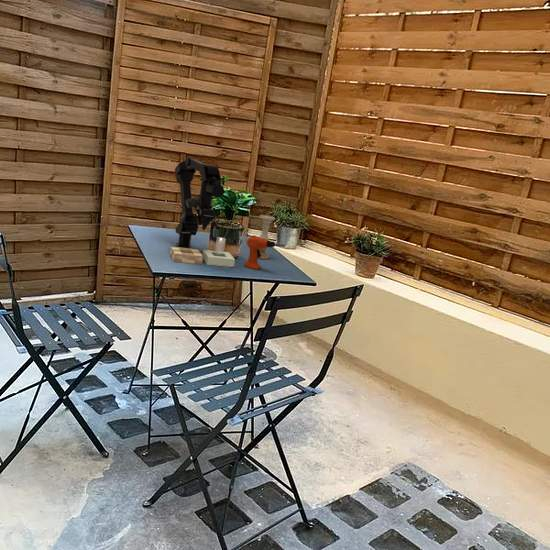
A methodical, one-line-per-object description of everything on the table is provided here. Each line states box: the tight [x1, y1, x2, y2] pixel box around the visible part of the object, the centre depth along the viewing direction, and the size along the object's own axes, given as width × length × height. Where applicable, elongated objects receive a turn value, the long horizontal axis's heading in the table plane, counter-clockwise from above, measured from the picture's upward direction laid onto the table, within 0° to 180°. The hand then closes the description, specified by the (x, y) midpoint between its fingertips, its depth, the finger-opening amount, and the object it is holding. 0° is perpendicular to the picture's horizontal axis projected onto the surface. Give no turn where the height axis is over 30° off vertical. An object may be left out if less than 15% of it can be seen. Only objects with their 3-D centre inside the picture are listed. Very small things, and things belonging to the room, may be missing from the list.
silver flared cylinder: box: [214, 236, 227, 257], centre depth 242 cm, size 4×4×11 cm
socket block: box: [169, 246, 203, 265], centre depth 238 cm, size 12×12×4 cm
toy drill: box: [243, 235, 286, 270], centre depth 241 cm, size 5×19×15 cm, turn 67°
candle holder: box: [258, 214, 276, 260], centre depth 265 cm, size 9×9×20 cm
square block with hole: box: [201, 249, 236, 268], centre depth 243 cm, size 12×12×4 cm
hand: (201, 227), depth 245 cm, fingers open, 9 cm apart
